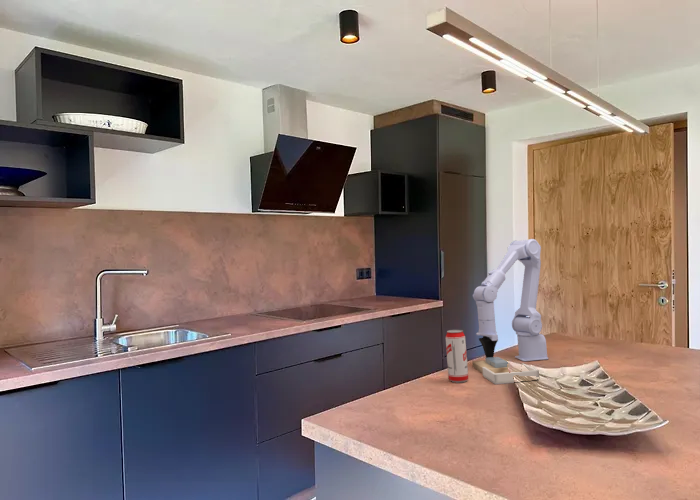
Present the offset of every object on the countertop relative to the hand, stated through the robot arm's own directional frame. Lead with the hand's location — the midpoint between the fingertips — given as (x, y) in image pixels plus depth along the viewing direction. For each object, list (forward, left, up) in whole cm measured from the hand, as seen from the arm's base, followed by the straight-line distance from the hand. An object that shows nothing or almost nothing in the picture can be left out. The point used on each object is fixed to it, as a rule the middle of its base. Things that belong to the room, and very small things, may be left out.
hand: (489, 358), depth 173 cm
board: (0, +6, -3) cm, 6 cm away
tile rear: (0, +4, -1) cm, 4 cm away
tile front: (0, +9, -1) cm, 9 cm away
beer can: (+16, +16, -3) cm, 23 cm away
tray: (0, +18, -3) cm, 18 cm away
